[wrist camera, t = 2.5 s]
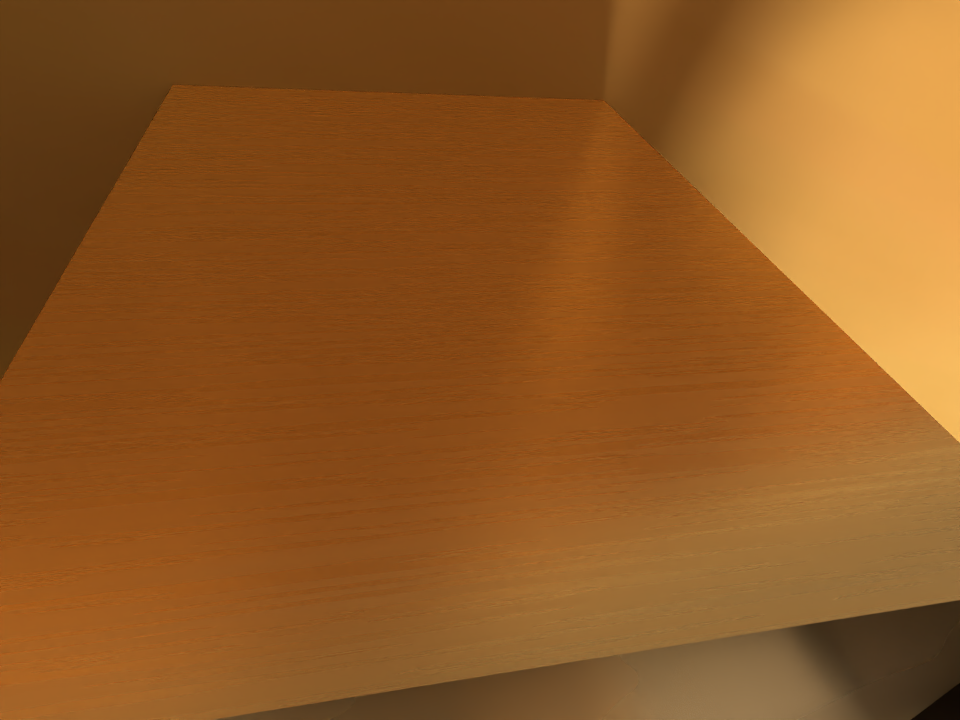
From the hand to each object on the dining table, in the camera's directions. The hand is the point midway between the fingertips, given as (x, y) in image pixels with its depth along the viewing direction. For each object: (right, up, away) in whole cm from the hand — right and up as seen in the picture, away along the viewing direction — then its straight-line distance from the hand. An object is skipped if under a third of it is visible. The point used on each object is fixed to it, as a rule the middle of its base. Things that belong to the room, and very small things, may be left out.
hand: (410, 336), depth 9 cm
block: (0, +1, +1) cm, 2 cm away
